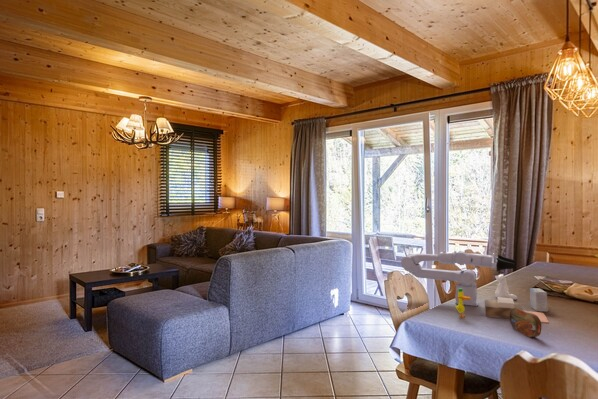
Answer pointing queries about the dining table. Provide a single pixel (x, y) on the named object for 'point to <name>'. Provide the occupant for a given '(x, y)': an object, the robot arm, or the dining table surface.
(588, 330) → the dining table surface
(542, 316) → the mat
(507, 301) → the thick cream tile
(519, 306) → the wooden block
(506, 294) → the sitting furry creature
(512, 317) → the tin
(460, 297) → the toy figure
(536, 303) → the medicine box
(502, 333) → the dining table surface
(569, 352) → the dining table surface
